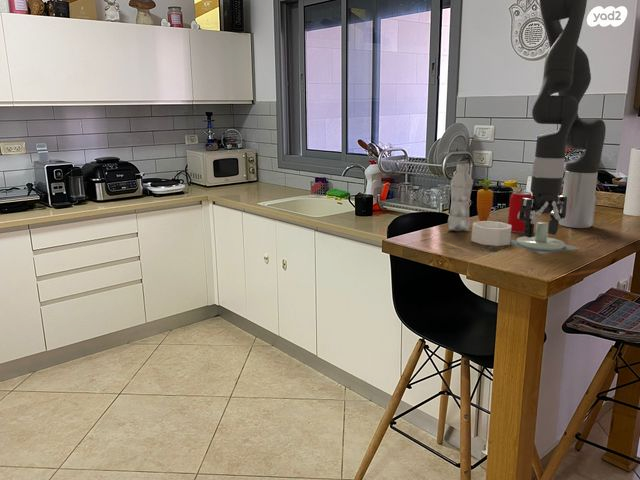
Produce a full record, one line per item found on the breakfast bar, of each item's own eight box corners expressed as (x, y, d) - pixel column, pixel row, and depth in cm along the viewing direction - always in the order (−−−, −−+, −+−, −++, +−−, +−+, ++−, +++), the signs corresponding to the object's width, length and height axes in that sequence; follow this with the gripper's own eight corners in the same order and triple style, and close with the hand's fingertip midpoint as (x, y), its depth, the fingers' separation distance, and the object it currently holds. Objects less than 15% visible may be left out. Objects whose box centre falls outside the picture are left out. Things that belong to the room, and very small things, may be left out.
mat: (538, 238, 154) (539, 236, 154) (580, 250, 142) (580, 248, 142) (501, 243, 149) (501, 241, 149) (541, 256, 136) (541, 254, 136)
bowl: (491, 237, 156) (493, 220, 155) (517, 245, 147) (519, 227, 146) (464, 240, 152) (465, 222, 151) (489, 248, 143) (490, 230, 142)
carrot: (488, 227, 169) (492, 179, 165) (472, 225, 171) (476, 178, 168) (492, 224, 173) (496, 177, 169) (477, 222, 175) (480, 176, 172)
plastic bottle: (471, 230, 165) (476, 164, 160) (467, 234, 159) (472, 166, 154) (449, 227, 167) (454, 162, 163) (445, 232, 162) (449, 164, 157)
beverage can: (530, 235, 159) (534, 194, 156) (508, 233, 160) (512, 193, 158) (527, 230, 165) (531, 191, 162) (505, 229, 166) (509, 190, 163)
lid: (539, 238, 153) (541, 217, 152) (574, 247, 143) (577, 225, 141) (506, 242, 148) (508, 220, 147) (541, 252, 138) (544, 229, 136)
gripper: (555, 172, 147) (548, 230, 151) (516, 174, 141) (509, 234, 145) (579, 175, 140) (571, 236, 144) (538, 177, 135) (531, 241, 138)
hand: (540, 235), depth 145 cm, fingers open, 8 cm apart
